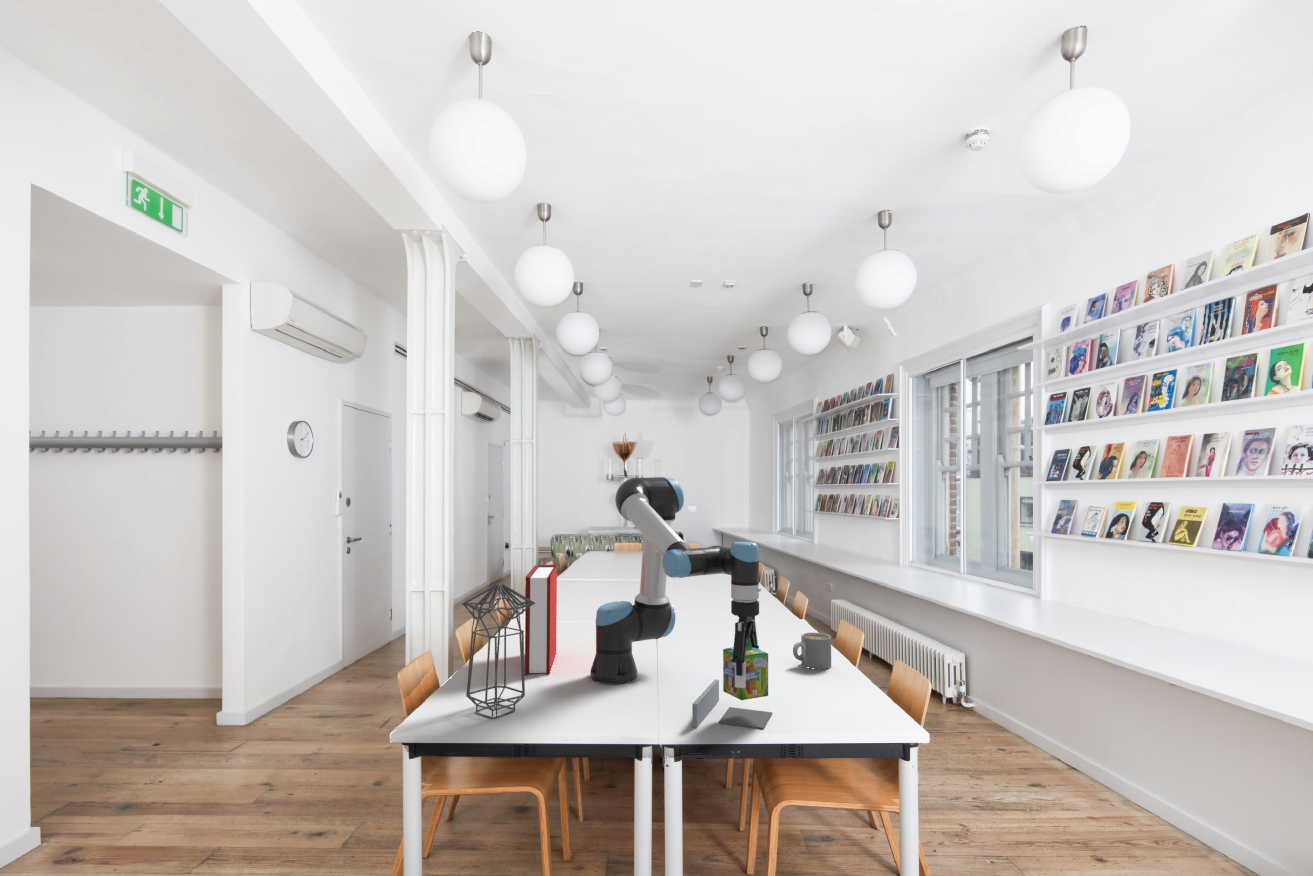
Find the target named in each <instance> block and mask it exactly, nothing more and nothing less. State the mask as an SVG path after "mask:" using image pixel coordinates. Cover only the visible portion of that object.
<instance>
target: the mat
mask: <svg viewBox="0 0 1313 876" xmlns="http://www.w3.org/2000/svg"><path fill="white" fill-rule="evenodd" d="M772 715H773V712H770V711H764V710H757V709H756V710H755V709H748V708H741V707H732V706H729V707H728V708H727V710H726V711H725V713H724V714H723V715H722V716H721V718H720V719H719V720H718V723H717V724H719V723H720V725H726V724H727V725H728V726H735V727H741V728H742V727H744V728H749V729H750V728H751V729H756V728H757V729H758V730H764V729H765V728H766V726H767V724H768V723H767V722H769V720H770V719H771V717H772Z"/></svg>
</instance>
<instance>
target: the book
mask: <svg viewBox="0 0 1313 876" xmlns="http://www.w3.org/2000/svg"><path fill="white" fill-rule="evenodd" d="M557 578H558V565H556V564H536V565H534V566H533V567H532V569H531V570H530V571H529V572H528V574H526V575H525V597H526V598H528V599H530V600H531V601H533V602H535V605H534V604H533V605H532V606H531V607H529V608H528V609H527V610H526V611H524V613H525V614H524V615H525V617H524V619H525V622H524V628H525V629H524V635H525V636H524V676H527V675H529V674H547V675H549V674H551V672H550V671H552V669H551V668H553V666H552V665H554V662H555V659H556V656H555V655H557V620H558V618H557V612H558V611H557V603H558V601H557V600H558V599H557V597H558V596H557V595H558V593H557V591H558V584H557V583H558V579H557ZM525 602H527V601H525ZM525 605H527V604H525ZM525 608H526V607H524V609H525ZM526 674H527V675H526Z"/></svg>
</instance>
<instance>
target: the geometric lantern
mask: <svg viewBox="0 0 1313 876" xmlns="http://www.w3.org/2000/svg"><path fill="white" fill-rule="evenodd" d="M484 594H485V595H484ZM482 595H484V596H482ZM491 595H492V596H491ZM497 595H498V597H497ZM480 596H482V598H481V599H480V600H478V601H477V602H476V601H475V602H471V601H473V600H475V599H477V598H479V597H480ZM489 597H490V601H488V600H489ZM518 597H519V598H520V599H522V600H524V601H521V600H520V599H519V598H518ZM501 600H502V603H503V606H504V607H503V606H502V607H501V606H499V605H500V601H501ZM526 601H527V602H526ZM506 602H507V603H506ZM487 604H488V608H487V607H486V608H485V607H484V608H483V606H484V605H487ZM507 604H508V605H509V606H510V607H507ZM526 604H527V605H526ZM533 604H534V605H535V602H533V601H531V600H530V599H528V598H526V596H524V595H522V594H521V593H520V592H518V591H516V590H514V589H513V588H511V587H509V586H507V585H506V584H504V583H495V584H494V585H492V586H490V587H488V589H486V590H484V591H482V592H480V593H478V594H477V595H475V596H473V597H471V598H469V599H467V600H465V601H464V602H463V603H461V605H462V606H463V607H464V608H465V609H466V610H467V611H468V613H469V614H470V615H471V616H472V620H473V621H472V626H471V630H470V631H471V633H470V634H471V635H470V647H469V648H470V649H469V661H468V670H467V671H468V672H467V683H466V695H465V696H466V698H468V699H469V700H470V701H471V703H473V704H474V706H475V711H474V712H475V714H476V713H477V715H479V714H480V716H482V715H483V717H485V716H486V718H488V719H492V720H495V719H498V718H500V716H501V717H504V716H506V715H509V714H511V712H512V713H515V712H516V704H517V703H519V702H520V701H521V700H522V699H524V697H525V696H526V691H525V690H526V688H525V687H526V686H525V684H526V683H525V681H526V679H525V636H524V635H525V630H522V628H521V627H522V626H521V616H520V615H522V614H524V613H525V611H526V610H527V609H528V608H529V607H531V606H532V605H533ZM479 605H480V606H479ZM496 606H497V607H496ZM495 607H496V608H495ZM525 607H526V608H525ZM470 608H471V609H472V610H470ZM520 609H521V611H519V610H520ZM501 610H505V611H506V612H507V616H506V615H505V614H504V613H503V611H501ZM475 611H476V612H477V616H475ZM492 611H493V612H494V611H497V612H498V613H499V614H500V615H502V616H503V618H504V620H503V621H502V622H501V624H499V623H498V622H497V621H496V619H495V617H494V616H493V615H492V613H491V612H492ZM510 611H513V613H511V616H510ZM487 614H489V615H490V616H491V618H492V619H493V621H494V622H495V623H496V626H493V627H489V628H487V626H486V624H485V622H484V620H483V618H484V617H485V616H486V615H487ZM514 619H515V620H516V621H517V625H518V628H512V627H508V626H509V623H510V622H511V621H512V620H514ZM475 620H477V621H476V624H475ZM506 621H508V622H507V623H506V624H505V622H506ZM479 622H481V624H482V626H483V629H482V628H481V629H478V626H479ZM504 624H505V625H504ZM474 625H475V626H474ZM503 625H504V626H503ZM493 629H497V630H496V631H495V633H493V635H491V634H490V632H489V630H493ZM501 629H504V630H503V631H504V635H501ZM507 629H508V630H513V631H517V632H516V633H510V634H507ZM482 631H485V632H486V634H487V635H485V634H482V633H479V632H482ZM477 635H478V636H481V637H485V638H488V642H487V645H488V646H487V659H486V661H487V662H486V678H485V688H481V689H478V690H477V689H476V690H473V691H471V682H472V673H473V664H474V658H475V657H474V656H475V647H476V640H477V639H476V638H477V637H476V636H477ZM496 635H497V636H496ZM515 635H519V654H520V655H519V656H520V674H521V675H520V676H521V690H520V689H517V688H513V687H509V686H507V637H510V636H515ZM503 637H504V638H503ZM501 638H503V639H504V640H503V642H504V644H503V645H504V646H503V647H504V648H503V652H504V653H503V659H504V660H503V685H498V671H499V669H498V668H499V655H500V654H499V653H500V643H501V642H500V640H501ZM491 639H494V685H493V686H489V676H490V675H489V671H490V670H489V669H490V658H491V657H490V654H491V652H490V651H491ZM491 689H492V690H493V689H494V697H492V698H490V699H488V693H489V692H488V690H491ZM498 689H502V691H501V692H500V694H499V696H498ZM505 689H507V690H510V691H513V692H516V693H520V695H517V696H513V697H509V698H506V699H505V698H501V696H502V694H503V693H504V691H505ZM481 692H485V693H484V694H485V695H484V700H482V699H479V698H476V697H473V696H472V695H473V694H478V693H481ZM514 700H515V701H514ZM477 702H478V703H477ZM505 702H508V703H511V704H507V705H505V704H501V703H505ZM481 704H484V705H486V706H484V705H481ZM494 705H496V706H494ZM491 706H492V707H494V709H493V708H492V707H491ZM498 706H500V707H498ZM511 706H513V707H511ZM478 707H479V708H480V709H478ZM506 707H507V709H509V708H510V709H511V710H510V711H508V712H505V713H503V714H499V715H498V710H500V709H501V710H502V709H506ZM483 709H484V710H485V709H486V710H488V711H491V716H489V715H487V714H484V713H480V712H481V711H483ZM480 710H481V711H480ZM477 711H478V712H477ZM494 711H495V716H494ZM503 715H504V716H503Z"/></svg>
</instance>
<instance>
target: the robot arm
mask: <svg viewBox="0 0 1313 876" xmlns="http://www.w3.org/2000/svg"><path fill="white" fill-rule="evenodd" d="M684 497H685V496H684V491H683V489H682V487H681V485H680V483H679V482H678V481H677V480H676V479H675V478H673V477H664V476H658V477H657V476H656V477H655V476H654V477H653V476H651V477H632V478H628V479H626V480H625V481H623V482H622V483H621V485H620V486H619V487H618V488H617V490H616V493H615V498H614V500H615V501H614V502H615V506H616V508H617V509H616V510H617V511H618V513H619V514H620V515H621V517H623V519H624V520H626V521H628V522H631V523H632V524H633V525H634V526H635V527H636V529H637V531H639V532H640V533H641V534H642V535H643V539H642V554H641V555H642V556H641V568H640V570H641V571H640V583H639V586H640V587H639V593H638V594H636V595H635V597H634V603H633V605H632V602H630V601H626V600H621V601H616V600H615V601H611V602H607V603H604V604H601V606H599V607H598V608H597V610H596V616H595V617H596V618H595V655H594V659H593V661H592V666H591V668H590V680H591V679H592V680H591V681H593V682H595V683H598V682H599V683H598V684H603V683H605V684H604V685H622V684H627V683H631V682H633V681H635V680H636V679H638V667H637V665H636V661H635V658H634V654H633V643H635V642H642V641H649V640H658V639H659V640H660V639H661V638H665V637H667V636H669V635H670V634H671V633H672V632H673V630H674V628H675V625H676V624H675V623H676V612H675V608H674V606H673V604H672V603H671V602H670V598H669V597H668V596H667V595H666V588H667V577H668V578H669V577H670V578H672V579H674V578H680V579H683V578H688V577H689V578H690V577H698V576H707V575H708V576H710V575H711V576H712V575H719V574H723V575H729V576H730V578H731V579H730V598H731V603H730V605H731V606H730V609H731V614H732V615H733V616H736V617H738V620H737V621H736V622H735V623H734V642H733V647H734V649H733V658H732V659H731V662H735V687H737V688H746V663H745V662H744V661H745V652H746V646H747V640H748V639H749V637H750V640H751V646H752V647H753V648H757V649H760V645H758V644H759V643H758V637H757V636H758V635H757V626H756V616H759V615H760V601H759V600H758V599H759V598H760V592H761V591H762V589H761V588H760V587H759V586H760V585H759V583H760V554H759V546H758V544H757V543H755V542H753V541H735V542H732V543H731V544H730V547H728V546H723V545H719V544H717V545H710V546H707V547H695V548H693V547H692V548H691V547H690V546H689V545H688V544H687V543H686V542H685V541H684V540H683V539H682V538H681V536H679V534H678V533H677V532H676V531H675V530H674V529H673V528H672V527H671V525H672V523H673V522H674V521H675V520H676V515H677V513H680V511H681V510H683V509H682V508H683V507H684V503H685V500H684V499H685V498H684ZM738 656H740V657H738Z"/></svg>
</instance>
